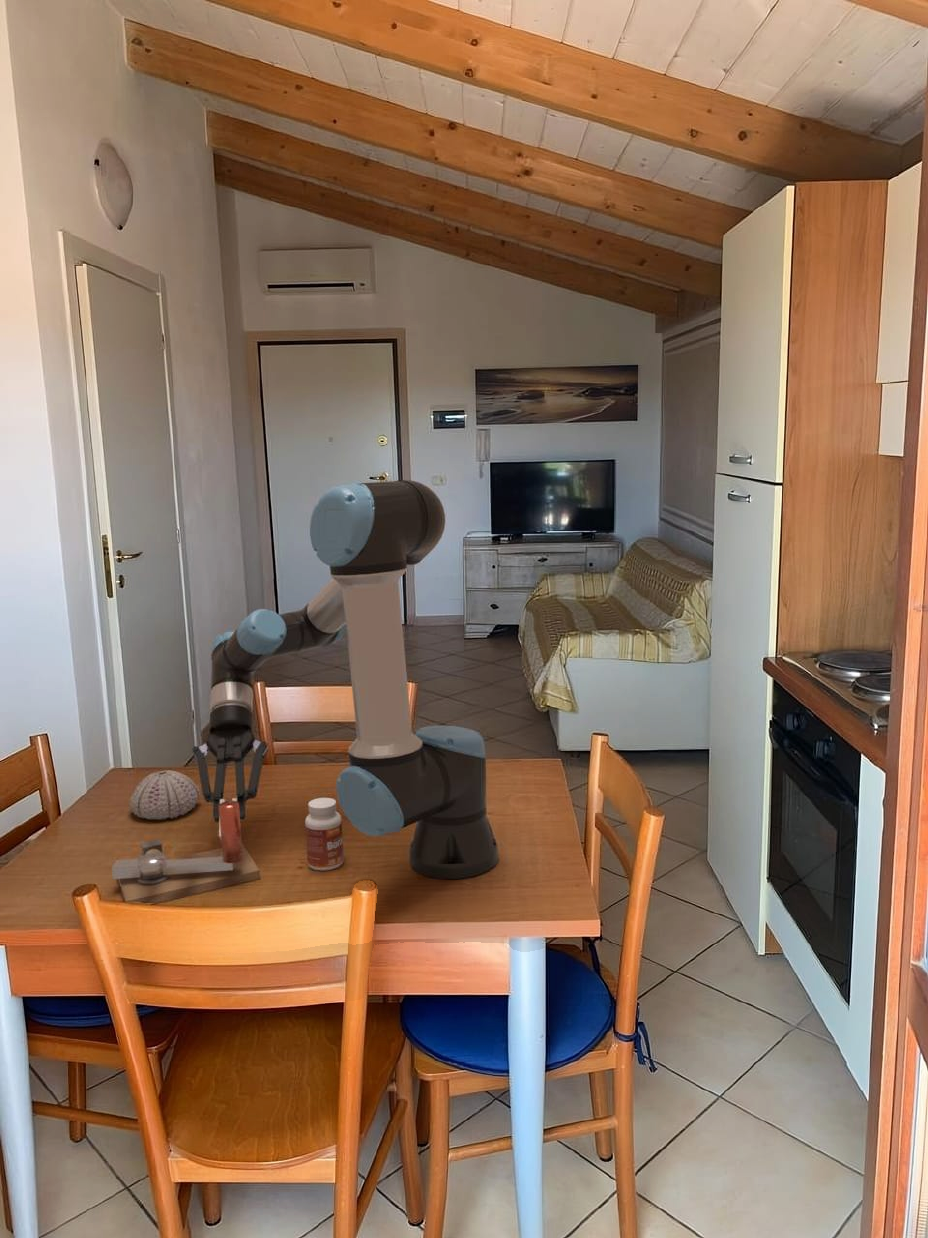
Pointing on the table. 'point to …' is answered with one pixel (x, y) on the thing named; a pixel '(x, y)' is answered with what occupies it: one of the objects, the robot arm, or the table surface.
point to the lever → (158, 865)
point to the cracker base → (186, 878)
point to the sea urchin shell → (164, 795)
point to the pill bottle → (324, 835)
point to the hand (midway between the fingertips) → (228, 838)
